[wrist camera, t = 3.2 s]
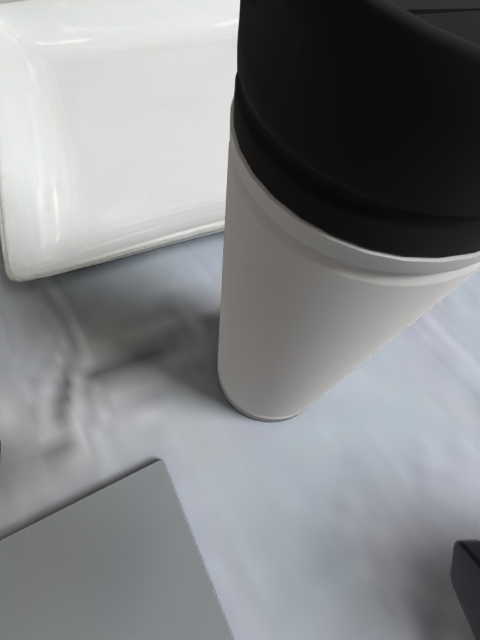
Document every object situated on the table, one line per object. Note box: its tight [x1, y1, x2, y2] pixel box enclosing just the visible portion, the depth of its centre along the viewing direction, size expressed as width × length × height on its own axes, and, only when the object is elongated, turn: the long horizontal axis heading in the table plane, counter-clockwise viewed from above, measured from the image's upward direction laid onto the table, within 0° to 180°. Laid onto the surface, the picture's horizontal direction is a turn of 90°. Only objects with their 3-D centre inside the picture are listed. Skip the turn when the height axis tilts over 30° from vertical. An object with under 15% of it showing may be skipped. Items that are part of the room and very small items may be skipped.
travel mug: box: [217, 0, 480, 422], centre depth 13 cm, size 6×7×20 cm
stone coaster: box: [0, 459, 234, 640], centre depth 17 cm, size 10×10×1 cm
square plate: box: [0, 0, 240, 282], centre depth 29 cm, size 27×27×4 cm
